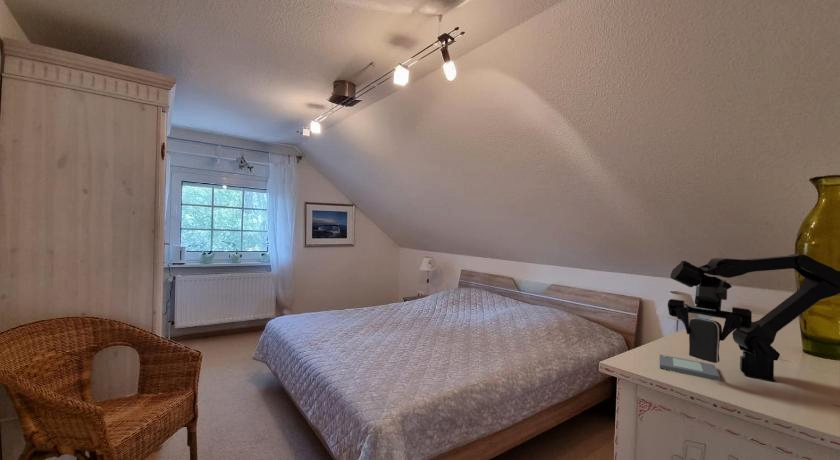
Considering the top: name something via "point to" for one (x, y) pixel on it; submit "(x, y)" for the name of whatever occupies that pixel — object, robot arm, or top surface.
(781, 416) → the top surface
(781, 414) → the top surface
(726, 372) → the top surface
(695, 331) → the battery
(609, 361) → the top surface
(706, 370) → the charging pad
